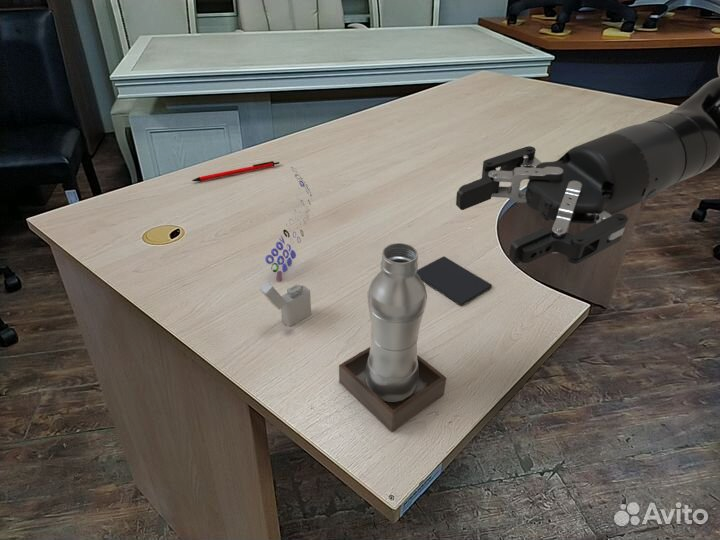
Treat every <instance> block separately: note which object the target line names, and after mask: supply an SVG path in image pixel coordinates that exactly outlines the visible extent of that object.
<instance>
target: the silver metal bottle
mask: <svg viewBox="0 0 720 540" xmlns="http://www.w3.org/2000/svg"><path fill="white" fill-rule="evenodd" d="M418 258H419V253H418V250H417V249H416V248H415V247H414V246H413V245H411V244H408V243H404V242H394V243H390V244H388V245H386V246H385V247H383V249H382V252H381V261H380V271H379V273H377V274H376V275H375V277H374V278H373V279H372V281H371V282H370V284H369V287H368V289H367V305H368V313H369V318H370V331H371V332H370V333H371V334H370V335H371V340H370V346H369V347H370V353H369V357H368V360H367V364H366V369H365V370H364V377H365V382H366V386H367V387H368V388H369V389H371V390H372V391H373V392H374V393H375V394H376V395H377V396H378V397H379V398H380V399H381V400H383V401H384V402H385V403H386V402H387V403H397V402H401V401H404V400H405V399H407V398H409V397H410V396H412V395H413V393H414V392H415V391H416V387H417V385H418V382H419V380H420V379H419V367H418V360H417V355H418V340H419V334H420V327H421V323H422V320H423V317H424V314H425V310H426V307H427V301H428V293H427V289H426V285H425V282H424V281H422V280H421V279H420V277H419V276H418V275H417V273H416V272H417V270H418V269H419V263H418Z"/></svg>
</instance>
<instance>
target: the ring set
mask: <svg viewBox="0 0 720 540" xmlns="http://www.w3.org/2000/svg"><path fill="white" fill-rule="evenodd" d="M290 169H291V170H292V172H294V173H295V174H294V177H295V178H296V179H297V183H298V185H299V186H300V187H302V188H304V190H305V191H306V193H307V195H309V197H310V199H308V200H307V201H308V204H309V205H310V206H311V202H310V200H311V201H313V198H312V192H311V190H310V188H309V185H308V184H307V182H306V180H304V178H303V177H302V176H301V175H300V173H298V171H297V169H296V168H295V167H293V166H291V167H290ZM297 189H298V192H299V193H301V192H300V191H301V190H300V188H297ZM296 197H297V196H296ZM297 199H298V200H300V199H299V197H297ZM295 202H298V201H297V200H296V199H295ZM300 203H301V204H303V199H301V200H300ZM297 205H299V203H297ZM305 206H306V212H305V210H303V209H302V211H303V212H305V214H306V217H307V218H306V217H302V216H303V215H302V213H301V211H299V214H300V215H301V216H300V215H298V216H299V218H303V224H304V225H307V223H306V221H307V219H309V218H310V214H309V213H310V212H309V210H310V208H309V206H308V205H305ZM293 211H294V212H295V214H297V213H296V212H297V210H296V209H293ZM299 218H298V219H297V222H299V226H300V225H301V220H300V219H299ZM294 220H296V217H294V218H293V217H292V218H289V219H288V223H285V225H286V227H287V229H288V230H289V231H291V228H290V227H289V228H288V225H290V226H292V225H294V224H295V221H294ZM291 221H292V224H291ZM287 229H283V230H282V232H283V235H284V236H282V235H280V237H278V239H279V241H277V242H276V243H275V247H274V248H272V249H271V250H270V253H271V254H267V255H266V256H265V259H264V260H265V263H267V264H268V265H271V266H270V269H271V270H272V272H274V273H276V276H275V280H276V281H277V282H279V281H281V280H282V279H283V273H284V274H285V273H287V271H288V268H289V267H291V266H292V265H293V260H294V259H296V258H297V253H296V252H295V250H294V249H292V246H291V245H293V244H295V243H294V242H295V241H294V240H292V238H294V239H295V238H296V237H297V243H298V244H300V242H301V241H302V240H301V237H304V235H305V234H304V231H303V230H302V229H300V234H301V237H299V236H297V232H295V231H292V238H291V236H290V233H289V231H288V230H287ZM294 235H295V236H294ZM284 237H285V238H289V240H290V244H291V245H290V244H289V243H287V244H285V239H284ZM291 240H292V241H293V243H292V241H291ZM284 245H286V246H287V247H286V249H285V248H284ZM279 251H282V255H279ZM285 253H286V254H285ZM275 257H277V259H276V262H275ZM269 258H270V259H271V261H270V260H269ZM285 259H286V263H285ZM280 260H281V261H280ZM274 265H275V266H276V267H275V268H274V269H273V267H274ZM281 265H282V266H281ZM280 266H281V269H282V271H281V270H279V268H280Z"/></svg>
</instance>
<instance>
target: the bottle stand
mask: <svg viewBox="0 0 720 540" xmlns="http://www.w3.org/2000/svg"><path fill="white" fill-rule="evenodd" d="M369 353H370V346H369V347H367V348H366V349H364V350H362V351H361V352H360V351H359V353H357V354H355V355H354V356H352V357H350V358H349V359H347V360H345V361H344V362H342V363H340V364H339V365H338V383H340V385H342V386H343V387H344V388H345V389H346V390H347V391H348V392H349V393H350V394H351V395H352V396H353V397H354V398H355V399H356V400H357V401H358V402H359V403H360V404H362V406H364V407H365V408H366V409H367V411H369V412H370V413H371V414H372V415H373V416H374V417H375V418H376V419H377V420H378V421H379V422H380V423H381V424H382V425H383V426H384V427H385V428H387V430H389V432H391V433H393V432H394V431H396V430H397V429H398V428H400V427H401V426H402V425H403V424H405V423H406V422H408V421H410V420H411V419H412V418H413V417H415V416H416V415H418V414H419V413H420V412H422V411H423V410H424V409H426V408H427V407H429V406H431V404H433V403H434V402H436V401H437V400H438V399H440V398H442V396H444V395H445V391H446V382H447V377H446V376H445V375H444V374H443V373H442V372H440V371H439V370H438V369H436V368H435V367H434V366H432V365H431V364H430V363H429V362H428V361H426V360H425V359H424V358H423V357H421V356H420V355H418V354H417V360H418V367H419V380H421V381H422V382H423V383H424V384H425V385H427V386H426V387H424V388H423V389H422V390H420V391H419V392H417V393H416V394H414V395H413V396H411V397H410V398H409V399H407V400H405V401H404V402H402V403H401V404H400V405H398V406H396V407H395V408H394V409H393V408H391V406H390V405H388V404H387V403H386V401H383V400H381V399H380V398H379V397H378V396H377V395H376V394H375V393H374V392H373V391H372V390H371V389H369V388H368V386H367V384H365V383H364V381H362V380H361V379H360V378H359V377H357V375H359V374H361V373H362V372H365V369H366V364H367V360H368V357H369Z"/></svg>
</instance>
